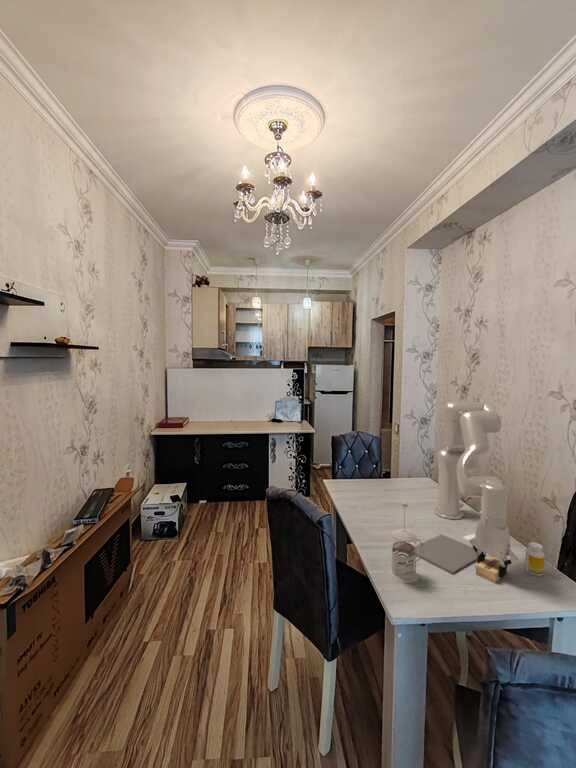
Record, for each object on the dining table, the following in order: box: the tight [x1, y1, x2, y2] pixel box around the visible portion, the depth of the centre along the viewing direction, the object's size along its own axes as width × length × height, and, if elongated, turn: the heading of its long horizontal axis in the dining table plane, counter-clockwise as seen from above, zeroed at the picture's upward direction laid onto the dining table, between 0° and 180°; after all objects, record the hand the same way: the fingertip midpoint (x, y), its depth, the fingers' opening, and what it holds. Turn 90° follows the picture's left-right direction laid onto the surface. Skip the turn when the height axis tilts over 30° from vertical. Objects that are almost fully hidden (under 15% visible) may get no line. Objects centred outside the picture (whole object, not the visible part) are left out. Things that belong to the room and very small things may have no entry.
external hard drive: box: [462, 533, 475, 543], centre depth 142 cm, size 2×8×12 cm
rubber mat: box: [414, 533, 487, 575], centre depth 135 cm, size 22×18×1 cm
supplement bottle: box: [524, 541, 546, 577], centre depth 123 cm, size 5×5×10 cm
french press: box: [388, 501, 424, 584], centre depth 121 cm, size 10×12×25 cm
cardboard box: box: [475, 555, 501, 584], centre depth 122 cm, size 10×6×3 cm, turn 128°
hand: (491, 570), depth 122 cm, fingers closed on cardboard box, 6 cm apart
